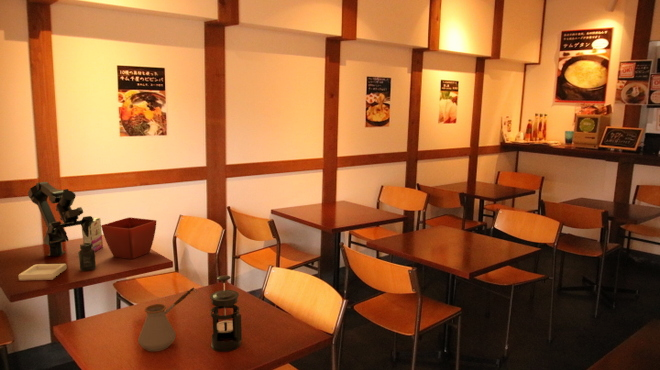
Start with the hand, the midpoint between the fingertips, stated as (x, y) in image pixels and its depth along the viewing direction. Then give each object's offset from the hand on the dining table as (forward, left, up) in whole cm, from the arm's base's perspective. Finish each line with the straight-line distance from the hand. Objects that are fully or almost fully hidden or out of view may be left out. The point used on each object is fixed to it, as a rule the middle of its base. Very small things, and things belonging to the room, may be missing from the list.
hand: (78, 238), depth 230 cm
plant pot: (-16, +19, -13) cm, 28 cm away
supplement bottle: (+5, +6, -13) cm, 16 cm away
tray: (+11, -11, -13) cm, 21 cm away
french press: (+83, +80, -13) cm, 116 cm away
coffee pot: (+78, +61, -13) cm, 100 cm away
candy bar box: (-25, -3, -13) cm, 28 cm away
